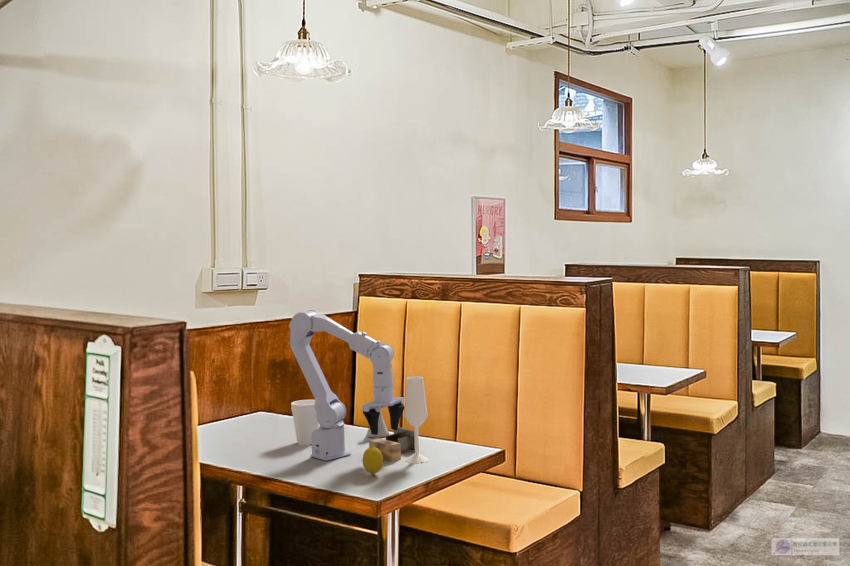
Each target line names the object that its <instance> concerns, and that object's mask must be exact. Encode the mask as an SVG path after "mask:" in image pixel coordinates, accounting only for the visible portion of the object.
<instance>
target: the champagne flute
mask: <svg viewBox="0 0 850 566" xmlns="http://www.w3.org/2000/svg"><path fill="white" fill-rule="evenodd" d="M426 398H427V397H426V391H425V382H424V376H417V375H416V376H407V377H406V385H405V397H404V413H403V414H404V419H405V420H406V421H407V423H408V424H410V425H411V427H413V429H414V437H415V451H414V454H412V455H411V456H410V457H408V458H406V460H405V462H406V463H408V462H409V464H422V463H421V462H424V463H427V462H428V461H429V460H428V459H429V458H427V457H425V455H423V454H421V453H420V443H419V442H420V441H419V440H420V439H419V427H421V426H422V425H423V423H425V421H426V420H427V418H428V409H427V407H428V406H427V399H426ZM427 460H428V461H427ZM426 461H427V462H426Z"/></svg>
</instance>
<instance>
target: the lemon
mask: <svg viewBox="0 0 850 566" xmlns="http://www.w3.org/2000/svg"><path fill="white" fill-rule="evenodd" d="M383 464H384V459H383V456H382V453H381V451H380V450H379V449H378V448H376V447H374V446H371V447H370V448H369V447H368V448H367V449H365V451H364V452H363V455H362V465H363V468H364V470H365V472H367V473H369V474H370V475H372V476H375V475H376V473H378V472H380V471H381V470H382V467H383Z"/></svg>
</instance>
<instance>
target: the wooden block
mask: <svg viewBox="0 0 850 566" xmlns="http://www.w3.org/2000/svg"><path fill="white" fill-rule="evenodd" d="M371 446H374V447H376V448H378V449H379V450H380V451H381V453H382V456H383V461H388V462H392V461H393V462H396V461H399V460H401V459H402V453H401V443H397V442H392V441H388V440H386V439H382V438H374V439H373V438H372V439H369V440H368V448H370V447H371Z"/></svg>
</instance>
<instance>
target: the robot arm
mask: <svg viewBox="0 0 850 566" xmlns="http://www.w3.org/2000/svg"><path fill="white" fill-rule="evenodd" d="M288 328H289V330H290V339H289V340H290V342H289V346H290V349H291V351H292V354H293V355H294V357H295V359H296V362H297V364H298V366H299V367H300V369H301V372H302V374H303V376H304V379H305V381H306V382H307V385H308V387H309V390H310V391H311V393H312V395H313V397H314V400H315V406H314V407H315V409H316V413H317V421H318V423H319V428H318V429H316V430H314V431H313V432H312V445H311V454H310V457H312V458H315V459H319V460H321V461H325V462H326V461H331V460H334V459H338V458H343V457H346V456H351V455H352V453H351V452H349V451H346V448H345V447H346V443H345V441H346V440H345V421H344V419H345V417H346V415H347V407H346V406H345V404H344V403H343V402H341V401H340V399H339V397H338V396H337V395H336V393H334V392H333V391H332V390H331V388H330V386H329V383H328V381H327V379H326V377H325V375H324V373H323V371H322V369H321V366H320V364H319V361H318V360H317V357H316V356H315V354H314V352H313V349H312V347H311V345H310V344H311V340H312V338H313V337H314V334H315V333H317V332H325V333H328V334H329V335H332V336H334V337H336V338H337V339H340V340H342V341H344V342H346V343H347V344H348V347H349V349H350V350H352V351H354V352H356V353H357V354H360V355H361V356H363V357H364V358H367V359H368V360H370V363H371V364H372V381H373V384H372V385H373V386H372V387H373V389H372V390H373V400H371V401H369V402H366V403H362V404H361V405H362V407H361V408H362V409H361V410H362V414H363V415H364V417H365V419H366V421H367V423H368V426H370V430H371V434H374V435H378V420H379V415H380V412H376V410H375V409H379V408H381V409H384V408H387V410H388V414H389V420H390V424H389V425H390V428H391V429H390V430H392V431H394V430H397V429H398V427H399V424H400V420H401V416H402V414H403V412H404V411H405V397H402V396H398V397H394V386H393V385H394V383H393V381H394V379H393V375H394V374H393V359H394V357H395V352H394V349H393V347H392V346H390V345H389V343H382V341H381V340H376V339H373V338H372V337H370V336H369V335H368V333H367V332H365V331H362V332H361V331H356V332H352V331H351V330H350V329H348V328H346V327H344V326H343V325H341V324H340V323H338V322H336V321H335V320H333V319H332V318H330V317H328V316H327V315H325V314H324V313H319V312H318V311H317V310H314V309H309V310H306V311H302V312H297V313H295V314H294V315H293V316H292V319H291V320H290V322H289V324H288Z"/></svg>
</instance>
